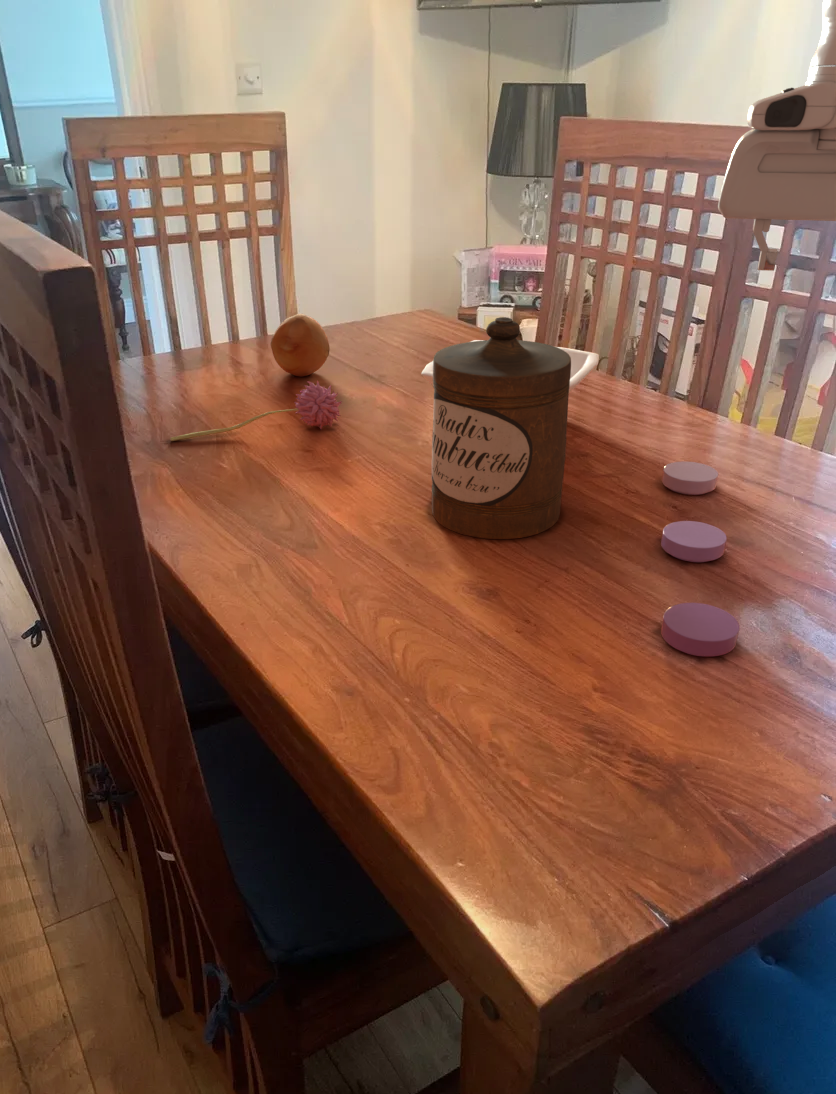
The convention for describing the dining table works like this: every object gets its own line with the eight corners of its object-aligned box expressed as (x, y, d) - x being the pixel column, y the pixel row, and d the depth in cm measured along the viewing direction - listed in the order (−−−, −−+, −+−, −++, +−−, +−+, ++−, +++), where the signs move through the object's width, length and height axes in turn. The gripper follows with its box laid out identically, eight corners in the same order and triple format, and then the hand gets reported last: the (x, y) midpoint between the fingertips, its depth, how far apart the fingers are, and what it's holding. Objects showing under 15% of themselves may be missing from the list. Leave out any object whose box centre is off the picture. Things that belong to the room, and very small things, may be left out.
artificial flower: (180, 471, 119) (351, 426, 123) (164, 422, 117) (340, 377, 121) (178, 462, 125) (342, 419, 129) (163, 415, 123) (331, 372, 127)
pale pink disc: (715, 480, 107) (718, 464, 106) (715, 500, 102) (718, 484, 101) (662, 474, 109) (665, 458, 108) (659, 494, 104) (661, 477, 103)
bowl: (603, 407, 132) (609, 351, 128) (557, 457, 115) (563, 395, 110) (469, 388, 141) (471, 336, 136) (408, 433, 123) (408, 374, 119)
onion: (273, 367, 153) (268, 309, 148) (329, 365, 154) (326, 307, 149) (272, 383, 145) (267, 323, 140) (331, 381, 145) (329, 320, 140)
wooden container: (405, 514, 100) (404, 320, 89) (484, 477, 109) (492, 297, 98) (507, 554, 91) (520, 345, 80) (584, 510, 100) (606, 316, 89)
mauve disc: (734, 628, 79) (739, 608, 77) (735, 667, 73) (740, 646, 72) (662, 617, 80) (665, 597, 79) (657, 654, 75) (661, 634, 74)
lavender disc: (723, 542, 93) (726, 524, 92) (723, 569, 88) (727, 551, 87) (661, 534, 95) (664, 517, 94) (658, 561, 90) (661, 543, 89)
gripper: (984, 102, 75) (934, 270, 82) (734, 105, 81) (708, 261, 88) (1003, 104, 70) (948, 283, 77) (734, 107, 75) (707, 273, 83)
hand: (818, 271), depth 82 cm, fingers open, 8 cm apart
